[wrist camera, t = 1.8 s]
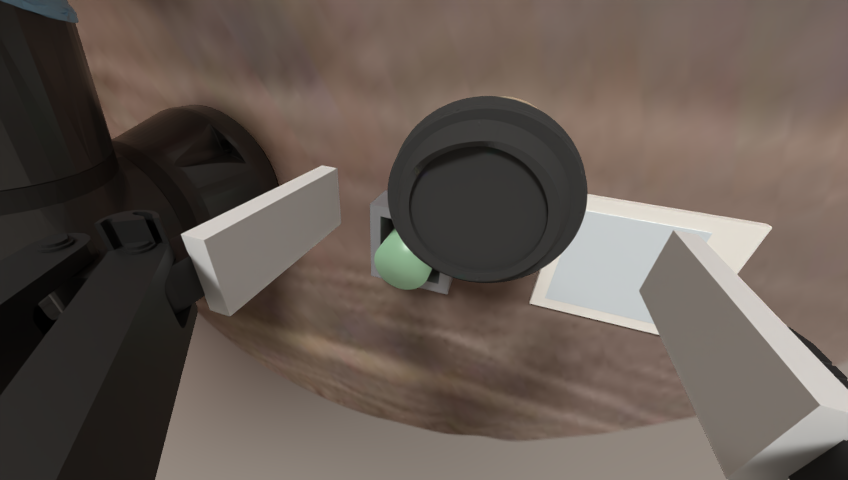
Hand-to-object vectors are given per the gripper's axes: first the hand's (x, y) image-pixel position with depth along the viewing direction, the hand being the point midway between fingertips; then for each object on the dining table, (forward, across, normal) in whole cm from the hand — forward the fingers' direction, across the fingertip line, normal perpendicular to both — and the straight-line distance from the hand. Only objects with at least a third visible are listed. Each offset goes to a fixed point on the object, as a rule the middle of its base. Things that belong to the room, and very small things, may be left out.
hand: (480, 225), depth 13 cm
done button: (+13, -6, -10) cm, 18 cm away
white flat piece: (+15, +12, -9) cm, 22 cm away
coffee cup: (+15, 0, 0) cm, 15 cm away
